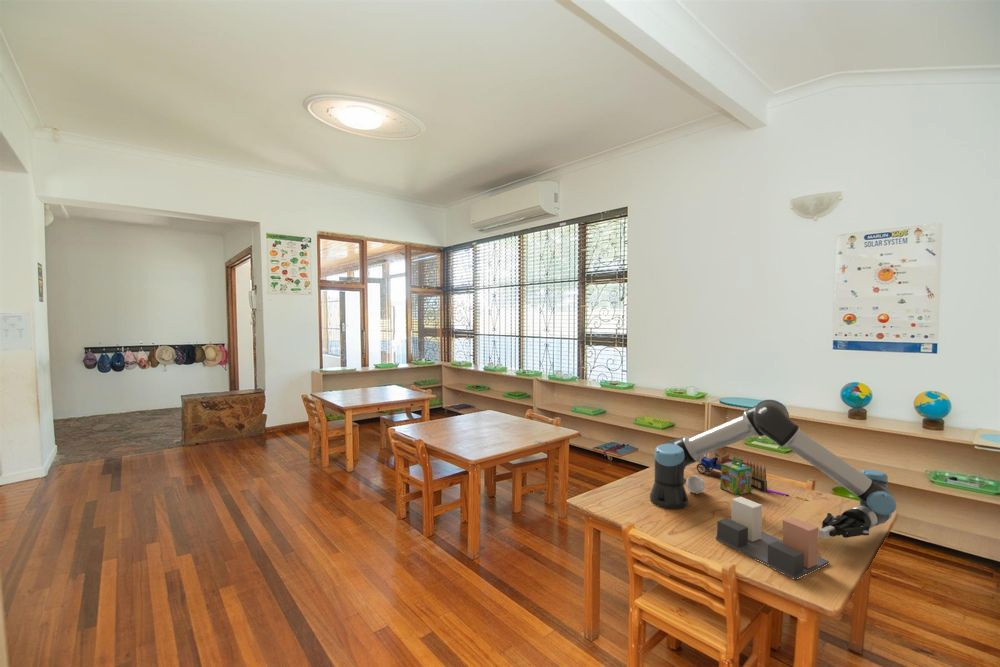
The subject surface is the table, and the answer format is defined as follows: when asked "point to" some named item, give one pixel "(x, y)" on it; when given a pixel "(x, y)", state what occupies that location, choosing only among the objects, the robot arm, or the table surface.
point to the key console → (765, 549)
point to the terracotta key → (801, 539)
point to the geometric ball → (695, 484)
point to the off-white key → (748, 516)
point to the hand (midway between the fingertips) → (821, 534)
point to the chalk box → (736, 477)
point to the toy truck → (714, 463)
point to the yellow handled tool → (781, 493)
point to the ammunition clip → (758, 476)
